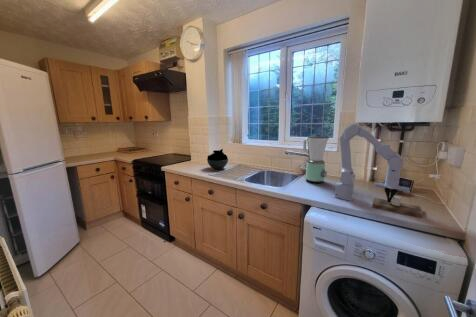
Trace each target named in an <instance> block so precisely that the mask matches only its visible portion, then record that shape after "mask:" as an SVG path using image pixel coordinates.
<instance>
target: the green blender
mask: <svg viewBox="0 0 476 317" xmlns="http://www.w3.org/2000/svg"><path fill="white" fill-rule="evenodd" d="M329 139H330V137H328V136H323V135H320V134H319V135H310V136H307V138H304V139H303V147H302V148H303V152H304V153H306V154H308V160H307V161H306V166H305V182H306V183H309V182H310V183H315V184H316V185H318V184H319V183H323V182H324V180H325V178H326V177H327V174H328V171H327V170H326V168H325V167H326V164H325V160H323V159H324V155H325V152H326V147H327V143H328V141H329Z"/></svg>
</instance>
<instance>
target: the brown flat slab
mask: <svg viewBox="0 0 476 317" xmlns="http://www.w3.org/2000/svg"><path fill="white" fill-rule="evenodd" d="M392 201H393V200H391V203H389V202H387V199H384V198H379V197H378V198H377V197H373V200H372V207H371V208H374V209H377V210H378V209H379V210H383V211H387V212H392V213H395V214H401V215H406V216H410V217H413V218H418V219H423V216H424V213H423V210H422V207H421V206H419V205H414V204H410V203H405V202H400V206H396V205H392Z"/></svg>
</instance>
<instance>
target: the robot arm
mask: <svg viewBox="0 0 476 317" xmlns="http://www.w3.org/2000/svg"><path fill="white" fill-rule="evenodd" d="M356 136H357V137H360V138H363V139H365V140H366V141H368V142H369V143H370V145H372V146H373V147H375V152H376V153H377V154H378V155H380V157H381V158H382V159H383V160H385V161H387V168H386V174H385V181H384V182H385V183H383V182H382V183H381V182H374V187H375V188H382V189H384V192H385V195H386V200H387V202H389V203H391V201H393V196H395V195H396V194H398V193H397V190H399V191H404V192H405V193H409V192H410V187H406V186H405V187H403V186H401V185H400V184H399V182H400V178H401V172H402V166H401V165H402V164H403V159H404V158H403V157H402V156H401V155H400V154H399V153H398V152H397V151H394V149H392V148H391V145H390V144H387V143H381V142H380V141H379V139H377V138H376V137H375V136H374V135H373V134H372V133H371V132H370V131H369V130H368V129H366V128H365V127H364V126H362V125H361V124H360V123H353V124H349V125H348V126H346V127H345V128H344V130H343V132H342V133H341V135H340V138H339V143H340V144H339V145H340V146H339V147H340V156H341V158H340V159H341V172H340V174H341V175H340V177H339V181H336V183H335V188H334V190H335V191H334V198H336V199H341V200H344V201H345V200H346V201H350V202H352V201H353V200H354V198H355V196H354V194H353V193H354V187H355V186H354V185H355V183H354V181H355V179H356V174H355V172H354V169H353V167H352V154H351V142H350V141H351V140H352V139H354V137H356Z"/></svg>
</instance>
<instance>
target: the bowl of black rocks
mask: <svg viewBox="0 0 476 317" xmlns="http://www.w3.org/2000/svg"><path fill="white" fill-rule="evenodd" d="M223 150H224V149H223V148H221V149H219V150H217V149H215V150H213V151H212V153H211V154H208V155H207V159H206V161H207V164H208V166H209V167H210V168H212V169H214V170H222V169H223V168H225V167H226V166H227V165H228V161H229V158H228V155H226V154H225V153H224V152H223Z"/></svg>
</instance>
